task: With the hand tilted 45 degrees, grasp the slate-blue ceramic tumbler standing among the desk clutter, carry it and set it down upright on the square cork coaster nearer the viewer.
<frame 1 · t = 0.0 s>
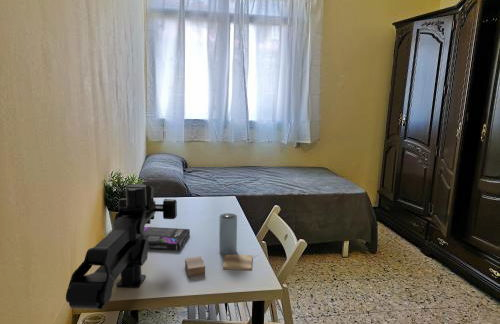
hand: (155, 201, 125), 17 cm above the table, tool horizontal, fingers open, 9 cm apart
walnut block: (194, 271, 111), on the table
box: (159, 243, 132), on the table
tumbler: (228, 251, 124), on the table
coaster: (238, 262, 116), on the table
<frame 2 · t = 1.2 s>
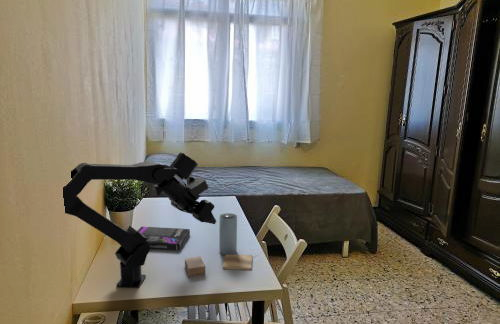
hand: (207, 218, 117), 14 cm above the table, tool tilted 45°, fingers open, 9 cm apart
nothing on the table moved.
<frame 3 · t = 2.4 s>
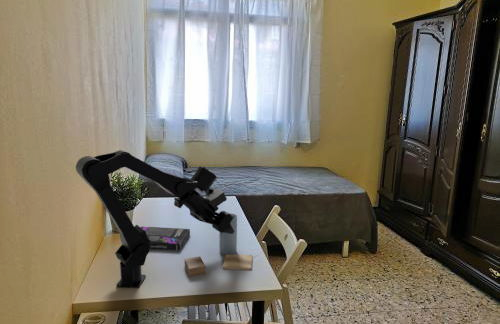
hand: (225, 228, 122), 9 cm above the table, tool tilted 45°, fingers open, 9 cm apart
nothing on the table moved.
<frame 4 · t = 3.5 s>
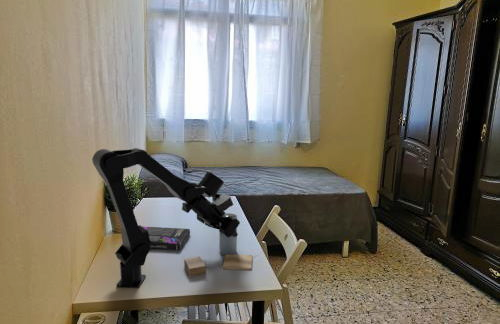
hand: (231, 232, 124), 7 cm above the table, tool tilted 45°, fingers closed on tumbler, 6 cm apart
tumbler: (228, 251, 124), on the table, touching gripper
everything else where it was.
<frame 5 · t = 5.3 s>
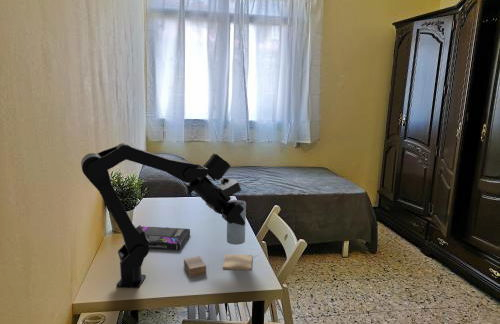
hand: (240, 221, 116), 13 cm above the table, tool tilted 45°, fingers closed on tumbler, 6 cm apart
tumbler: (235, 240, 117), point 7 cm above the table, touching gripper
everything else where it was.
when the fingers open (8 cm above the table, at t = 7.0 s): tumbler stays where it is, resting on coaster.
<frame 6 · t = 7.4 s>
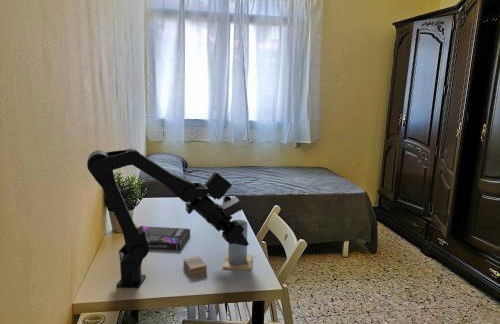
hand: (242, 239, 115), 8 cm above the table, tool tilted 45°, fingers open, 9 cm apart
tumbler: (237, 261, 116), point 1 cm above the table, touching coaster
everything else where it was.
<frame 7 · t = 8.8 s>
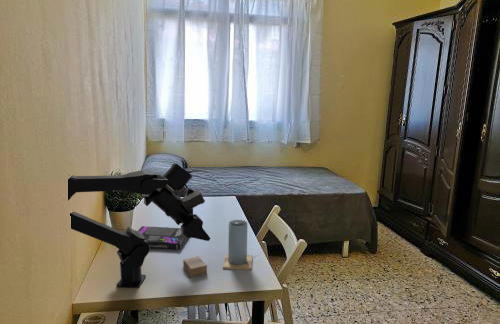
hand: (205, 234, 111), 11 cm above the table, tool tilted 45°, fingers open, 9 cm apart
nothing on the table moved.
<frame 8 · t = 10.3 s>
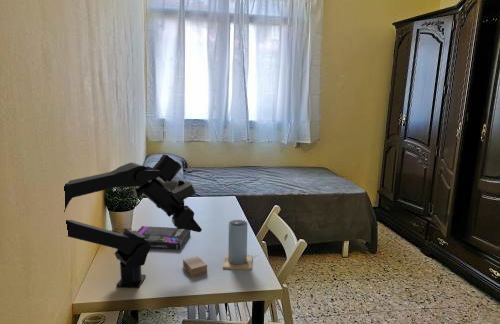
hand: (196, 225, 111), 14 cm above the table, tool tilted 45°, fingers open, 9 cm apart
nothing on the table moved.
at the end: tumbler 0.1 cm from the coaster (horizontally); tumbler tilted 0°; the gripper is holding nothing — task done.
